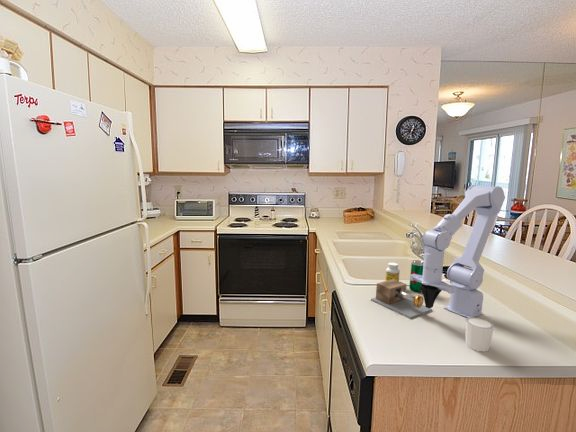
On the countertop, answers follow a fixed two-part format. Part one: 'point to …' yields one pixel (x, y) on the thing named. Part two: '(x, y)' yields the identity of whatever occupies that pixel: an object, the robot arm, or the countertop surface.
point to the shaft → (410, 298)
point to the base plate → (405, 308)
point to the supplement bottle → (392, 272)
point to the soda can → (417, 269)
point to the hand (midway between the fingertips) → (429, 307)
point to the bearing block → (389, 291)
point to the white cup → (478, 333)
